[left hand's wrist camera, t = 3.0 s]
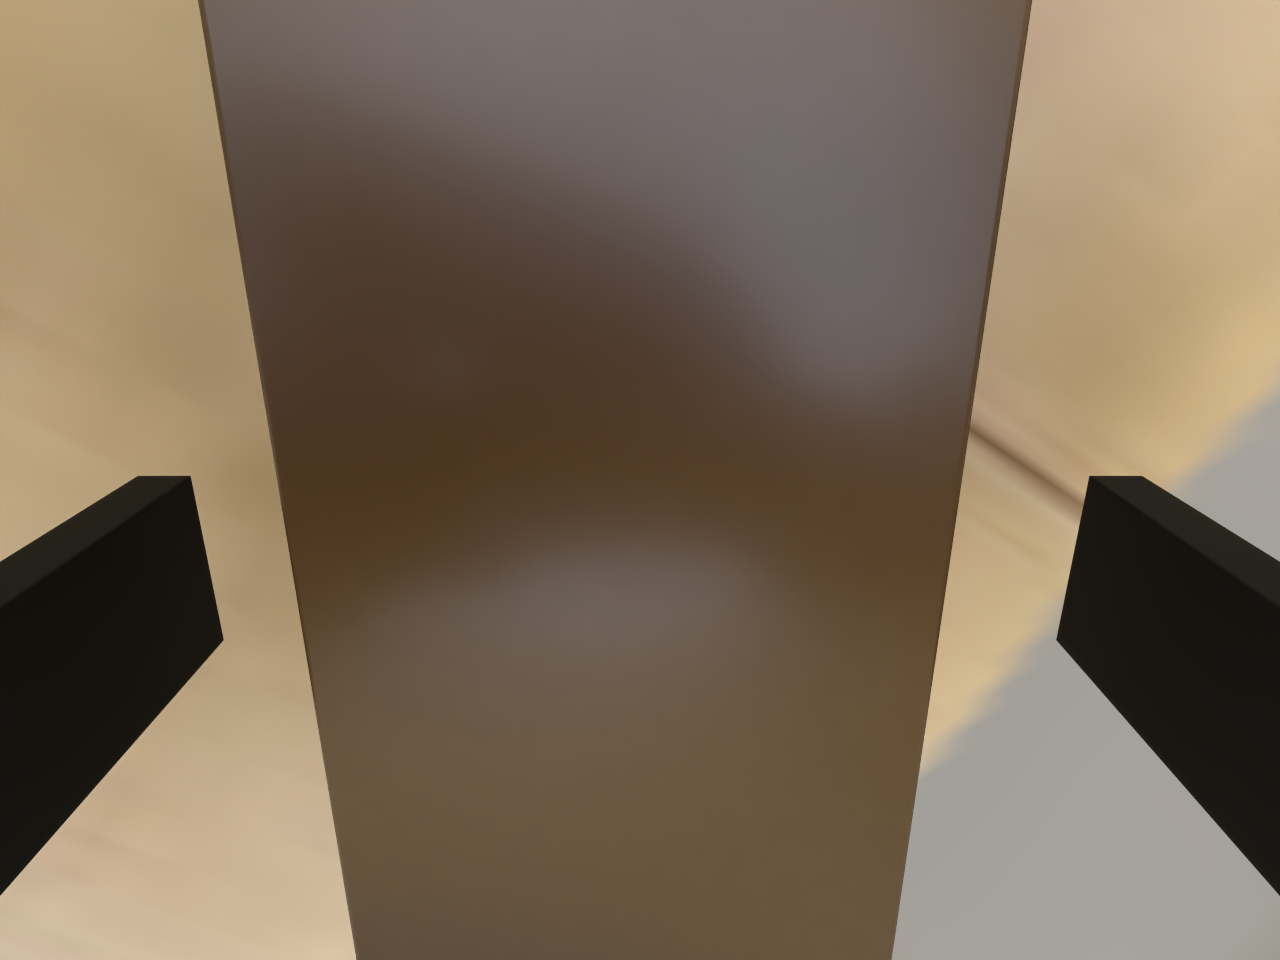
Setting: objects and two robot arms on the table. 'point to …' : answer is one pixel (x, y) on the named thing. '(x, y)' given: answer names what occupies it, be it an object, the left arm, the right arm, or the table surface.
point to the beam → (619, 445)
